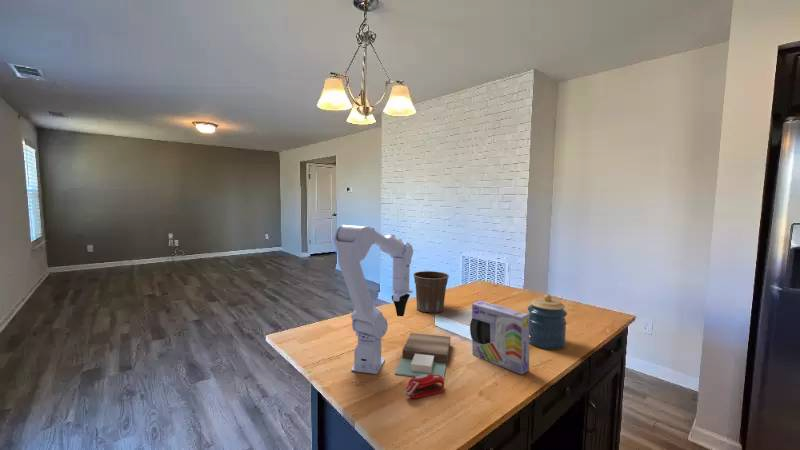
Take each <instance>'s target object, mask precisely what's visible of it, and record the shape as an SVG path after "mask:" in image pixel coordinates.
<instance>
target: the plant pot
mask: <svg viewBox="0 0 800 450" xmlns="http://www.w3.org/2000/svg"><path fill="white" fill-rule="evenodd" d="M412 275H413V278H414V284H415V295H416V296H415V297H416V298H415V299H416V300H415V301H416V309H417V310H418V311H420V312H423V313H427V312H428V313H429V314H438V313H441V312H443V311H444V307H445V306H444V305H445V299H446V290H447V285H448V280H449V278H450V275H449V274H448V273H445V272H442V271H441V272H440V271H434V270H433V271H431V270H428V271H426V270H423V271H416V272H414V273H413V274H412ZM442 310H443V311H442ZM440 311H441V312H440ZM437 312H438V313H437Z"/></svg>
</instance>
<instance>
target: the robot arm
mask: <svg viewBox="0 0 800 450" xmlns="http://www.w3.org/2000/svg"><path fill="white" fill-rule="evenodd" d="M395 236H396V235H394V234H392V233H390V234H389V233H388V234H387V235H383V234H382V233H380V232H378V231H377V230H375V228H374V227H371V226H369V225H367V226H366V225H365V226H364V225H363V226H362V225H349V224H348V225H347V224H345V223H343V224H340V225H339V226H338V227H337V229H336V231H335V234H334V236H333V243H334V245H335V247H336V250H337V251H336V252H337V259H338V266H339V268H340V271H341V274H342V277H343V279H344V283H345V285H346V287H347V291H348V293H349V296H350V300H351V302H352V305H353V307H354V310H353V311H352V313H351V315H350V317H351V327H352V330H353V331H354V332H355V336H356V337H357V345H356V347H355V348H354V353H353V354H354V356H353V357H354V360H353V361H354V364H353V366H352V367H351V370H350V371H352V372H359V373H364V374H372V375H377V374H379V371H380V370H381V368H382V366H383V364H384V362H385V361H386V357H382V338H384V336H385V335H386V334H387V331H388V325H389V324H388V319H387V318H386V317H384V314H383V312H382V311H381V310H380V309H379V308H377V307H376V306H375V305H374V302H373V299H372V296H371V294H370V293H371V292H370V290H369V287H368V284H367V281H366V278H365V275H364V271H363V269H362V265H361V261H363V260H365V258H366V257H367V254H368V253H369V251H370V249H371V247H372V246H373V245H375V246H379V249H380V251H382V252H383V253H386V254H388V255H389V256H390V258H392V288H391V293H392V295H391V300H392V302H393V305H394V307H395V313H396V316H397V317H404V315H405V311H406V307H407V303H408V300H409V299H410V296H411V295H410V294H412V293H413V292H414V291H413V289H410V271H411V270H410V267H411V266H410V265H411V263H412V258H413V255H414V249H413V246H412V245H411V244H410V243H409V242H403V241H402V239H401V238H396V237H395Z"/></svg>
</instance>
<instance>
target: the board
mask: <svg viewBox="0 0 800 450" xmlns="http://www.w3.org/2000/svg"><path fill="white" fill-rule="evenodd" d="M450 348H451V336H447V335H446V336H445V335H435V334H425V333H415V332H410V334H409V336H408V337H407V340H406V341H405V344H404V346H403V347H402V352H401V353H402V354H401V355H402V356H401V357H402V358H403V359H412V360H413V358H414V355H415V354H424V355H433V356H434V362H437V363H445V364H446V365H447V363H448V358H449V352H450ZM402 358H401V359H402Z"/></svg>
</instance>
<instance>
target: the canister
mask: <svg viewBox="0 0 800 450" xmlns="http://www.w3.org/2000/svg"><path fill="white" fill-rule="evenodd" d="M565 308H566V306H565V304H564V303H562V302H561V300H558V299H555V298H553V297H552V295H550V294H549V293H548V294H547V293H545V294H544V296H543V297H542V296H541V297H536V298H534V299H532V300H530V305H528V306H527V310H528V314H529V335H530V336H531V337H530V339H529V341H530V343H529V345H532V346H534V347H537V348H540V349H543V350H544V349H545V350H551V351H554V350H556V351H557V350H562V349H564V347H565V344H566V340H567V339H566V329H567V322H568V321H566V316H568V312H567V310H565Z"/></svg>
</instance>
